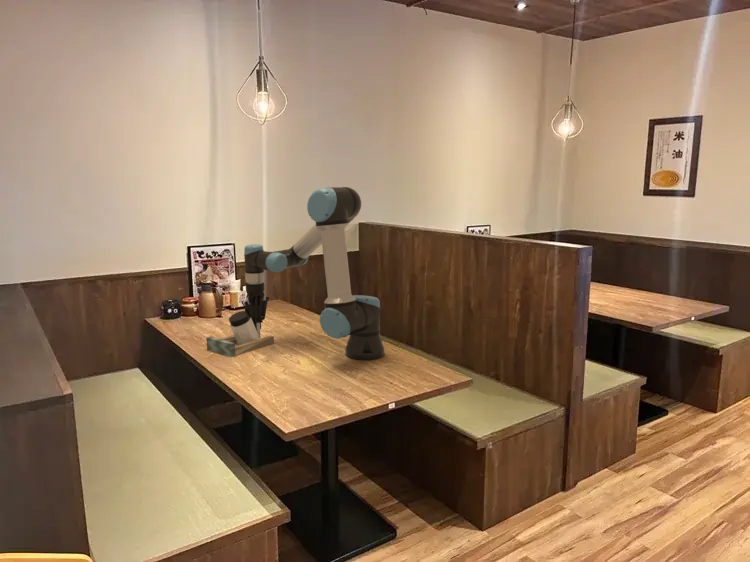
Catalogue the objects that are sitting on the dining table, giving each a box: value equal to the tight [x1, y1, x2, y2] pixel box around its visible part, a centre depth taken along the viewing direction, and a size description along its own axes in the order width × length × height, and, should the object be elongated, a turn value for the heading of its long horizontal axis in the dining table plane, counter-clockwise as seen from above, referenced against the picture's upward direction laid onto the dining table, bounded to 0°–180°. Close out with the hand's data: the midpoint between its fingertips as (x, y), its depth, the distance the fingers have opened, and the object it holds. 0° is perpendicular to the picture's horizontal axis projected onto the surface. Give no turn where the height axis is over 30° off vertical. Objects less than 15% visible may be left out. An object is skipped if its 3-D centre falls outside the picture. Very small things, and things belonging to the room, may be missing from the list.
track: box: [205, 334, 275, 358], centre depth 234 cm, size 15×22×5 cm
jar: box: [228, 310, 259, 345], centre depth 235 cm, size 9×8×12 cm
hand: (257, 337), depth 241 cm, fingers closed
